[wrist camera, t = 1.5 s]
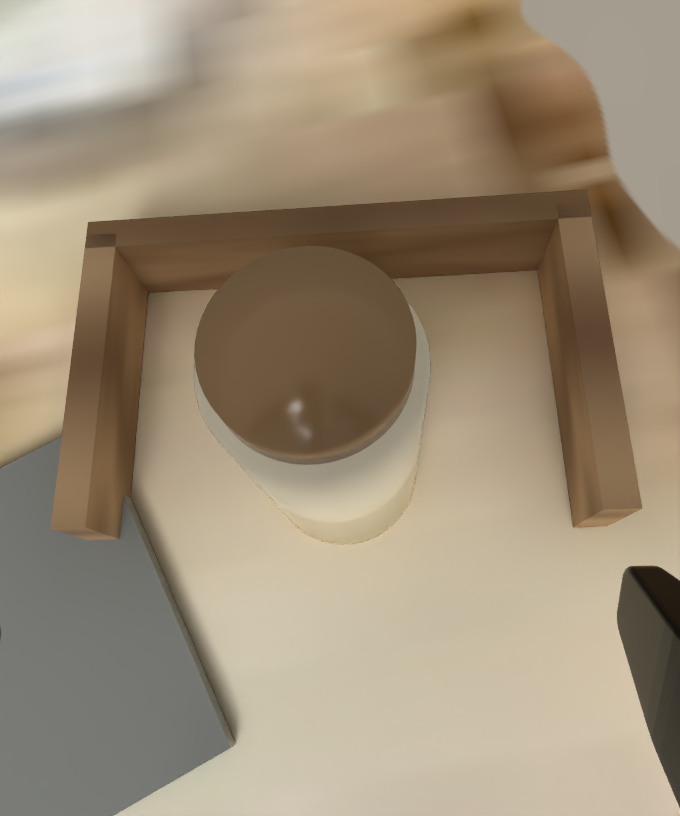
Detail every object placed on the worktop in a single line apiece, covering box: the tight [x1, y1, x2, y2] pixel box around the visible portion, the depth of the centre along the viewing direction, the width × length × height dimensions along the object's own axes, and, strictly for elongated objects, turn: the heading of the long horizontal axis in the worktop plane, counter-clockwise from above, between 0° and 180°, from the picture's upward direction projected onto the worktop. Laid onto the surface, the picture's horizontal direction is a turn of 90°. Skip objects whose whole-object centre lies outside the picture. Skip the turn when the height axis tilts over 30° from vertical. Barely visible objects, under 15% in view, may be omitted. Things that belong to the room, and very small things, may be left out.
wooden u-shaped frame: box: [50, 190, 642, 540], centre depth 21 cm, size 10×16×3 cm, turn 91°
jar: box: [194, 246, 431, 545], centre depth 16 cm, size 5×5×10 cm
